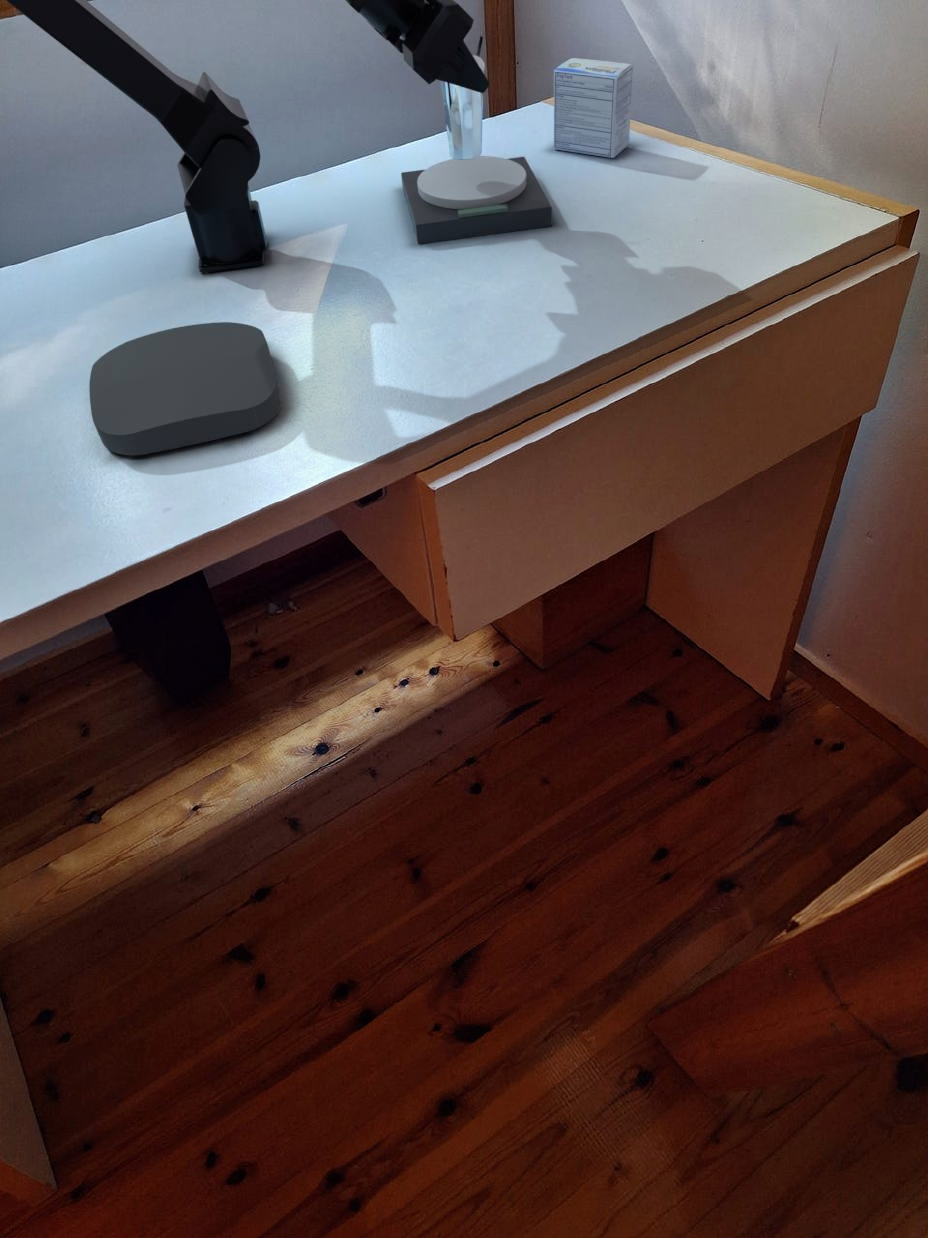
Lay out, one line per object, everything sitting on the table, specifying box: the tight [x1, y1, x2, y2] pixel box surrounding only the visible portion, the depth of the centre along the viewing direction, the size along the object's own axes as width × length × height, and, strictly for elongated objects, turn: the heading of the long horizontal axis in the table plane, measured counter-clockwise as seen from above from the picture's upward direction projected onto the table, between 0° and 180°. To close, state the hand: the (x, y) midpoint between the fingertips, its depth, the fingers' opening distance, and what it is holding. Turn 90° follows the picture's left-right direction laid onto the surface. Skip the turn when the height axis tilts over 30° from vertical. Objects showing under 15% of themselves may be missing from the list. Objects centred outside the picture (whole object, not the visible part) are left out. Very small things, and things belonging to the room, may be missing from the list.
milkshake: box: [439, 35, 486, 161], centre depth 90 cm, size 5×5×10 cm
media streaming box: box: [88, 321, 282, 456], centre depth 74 cm, size 15×15×3 cm
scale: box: [400, 155, 553, 245], centre depth 96 cm, size 14×14×3 cm
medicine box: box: [553, 57, 634, 159], centre depth 103 cm, size 8×4×9 cm, turn 57°
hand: (478, 81), depth 89 cm, fingers closed on milkshake, 4 cm apart
